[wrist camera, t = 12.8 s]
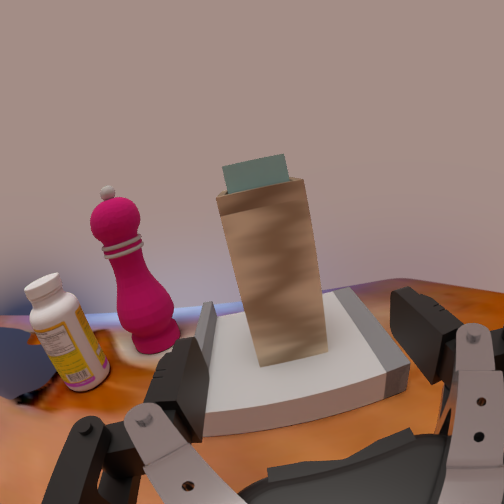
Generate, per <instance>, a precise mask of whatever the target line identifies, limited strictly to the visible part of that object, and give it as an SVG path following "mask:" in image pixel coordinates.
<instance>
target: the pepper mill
mask: <svg viewBox="0 0 504 504" xmlns="http://www.w3.org/2000/svg"><path fill="white" fill-rule="evenodd" d="M100 195H101V198H102V199H103V200H104V202H102V203H100V204H99V205H98V206H97V207H96V208H95V209H94V211H93V212H92V215H91V218H90V225H91V231H92V233H93V235H94V237H95V238H96V239H98V240H99V241H101V242H102V243H103V245H104V246H103V247H102V251H104V254H105V255H104V258H105V259H109V261H110V263H111V265H112V268H113V270H114V274H115V277H116V282H117V313H118V317H119V320H120V323H121V325H122V327H123V328H124V329H125V330H127V331H129V332H131V333H132V340H133V343H134V345H135V347H136V349H137V350H138V351H139V352H141V353H144V354H154V353H158V352H161V351H164V350H166V349H168V348H170V347H171V346H172V345H174V344H175V341H176V340H177V339H179V336H180V331H179V328H178V326H177V323H176V321H175V320H174V319H172V318H171V317H172V315H173V312H174V304H173V302H172V300H171V297H170V295H169V294H168V293H167V291H166V290H165V289H164V287H163V286H162V285H161V284H160V283H159V282H158V281H157V280H156V279H155V278H154V277H153V275H152V274H151V273H150V271H149V270H148V268H147V266H146V264H145V261H144V258H143V254H142V249H141V247H142V246H143V245H144V243H143V242H142V239H141V237H142V236H141V234H137V229H138V226H139V224H140V214H139V211H138V209H137V207H136V205H135V204H134V203H133V202H132V201H131V200H129V199H126V198H122V197H116V198H114V196H115V190H114V188H113V187H112V186H105V187H103V188H102V190H101V192H100Z"/></svg>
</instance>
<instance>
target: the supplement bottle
mask: <svg viewBox="0 0 504 504" xmlns="http://www.w3.org/2000/svg"><path fill="white" fill-rule="evenodd" d="M24 291H25V293H26V296H27V299H28V300H29V301H30V302H31V303H32V306H33V310H32V311H31V313H30V323H31V325H32V327H33V329H34V331H35V333H36V335H37V337H38V339H39V341H40V343H41V344H42V346H43V348H44V350H45V351H46V353H47V355H48V357H49V358H50V360H51V362H52V363H53V365H54V367H55V368H56V370H57V372H58V373H59V375H60V376H61V378H62V379H63V381H64V382H65V384H66V385H67V386H68V387H69V388H70V389H71V390H74V391H87V390H90V389H92V388H94V387H96V386H97V385H99V384H100V383H101V382H102V381H103V380H104V379H105V378H106V376H107V375H108V373H109V369H110V365H109V362H108V360H107V358H106V356H105V354H104V353H103V351H102V349H101V347H100V345H99V343H98V341H97V339H96V337H95V336H94V334H93V332H92V330H91V328H90V325H89V323H88V321H87V319H86V317H85V315H84V313H83V311H82V309H81V306H80V304H79V302H78V300H77V298H76V296H75V295H73V294H72V293H69V292H64V291H63V289H62V281H61V279H60V276H59V274H58V273H53V274H50V275H47V276H44V277H42V278H40V279H38V280H36V281H34V282H32V283H31V284H29V285H28V286H27V287H25V289H24Z"/></svg>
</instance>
